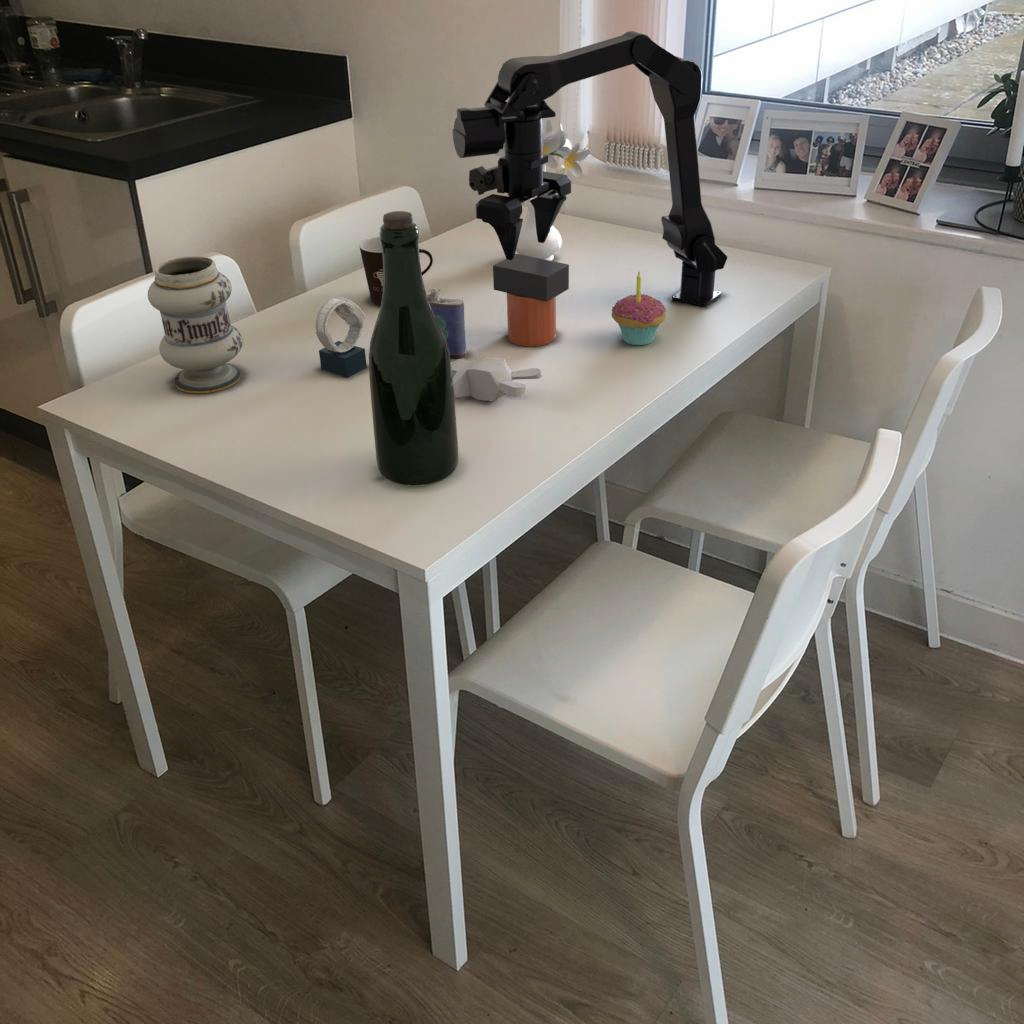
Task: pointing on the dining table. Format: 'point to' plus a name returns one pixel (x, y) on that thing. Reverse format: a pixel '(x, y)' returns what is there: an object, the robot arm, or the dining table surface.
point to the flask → (450, 321)
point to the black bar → (531, 277)
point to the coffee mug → (378, 267)
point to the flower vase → (528, 233)
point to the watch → (340, 354)
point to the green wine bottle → (410, 368)
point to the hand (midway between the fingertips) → (525, 250)
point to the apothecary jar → (196, 323)
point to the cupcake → (638, 316)
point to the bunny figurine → (489, 378)
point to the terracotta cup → (531, 320)
